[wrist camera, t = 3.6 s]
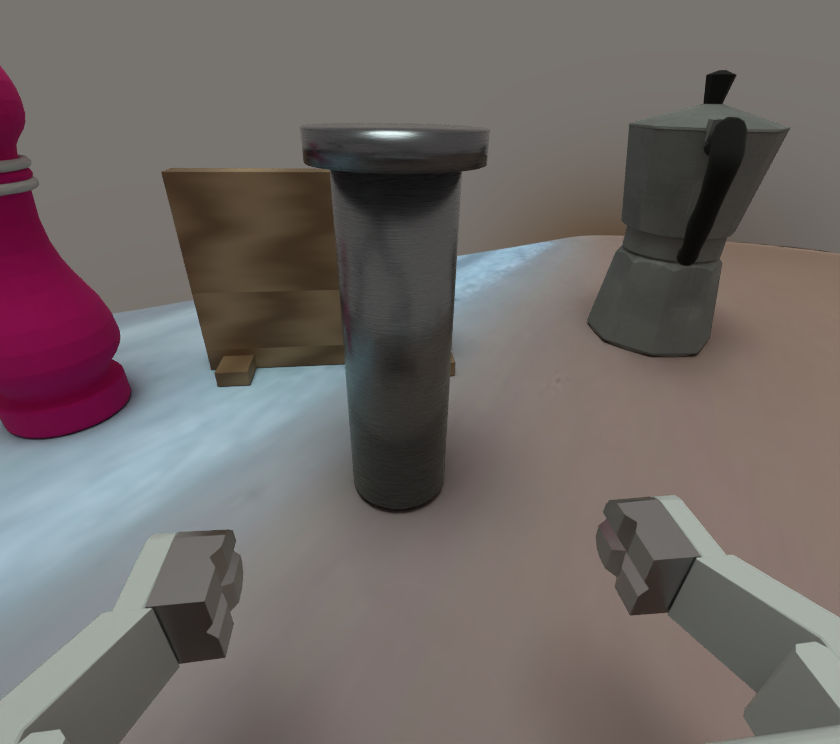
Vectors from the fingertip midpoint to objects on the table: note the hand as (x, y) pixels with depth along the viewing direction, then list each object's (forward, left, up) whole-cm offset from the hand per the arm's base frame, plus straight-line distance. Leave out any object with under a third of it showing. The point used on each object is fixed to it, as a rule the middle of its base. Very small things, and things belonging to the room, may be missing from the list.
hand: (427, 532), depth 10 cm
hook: (0, +17, -8) cm, 19 cm away
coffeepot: (+21, +24, -8) cm, 33 cm away
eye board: (-4, +22, -8) cm, 24 cm away
